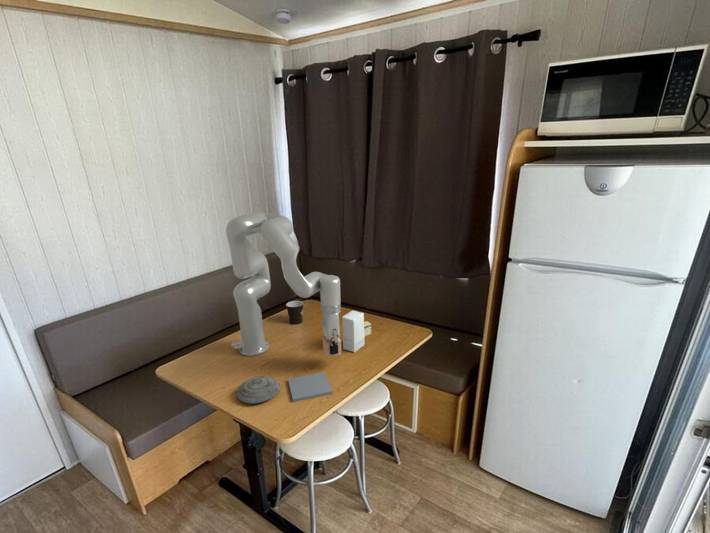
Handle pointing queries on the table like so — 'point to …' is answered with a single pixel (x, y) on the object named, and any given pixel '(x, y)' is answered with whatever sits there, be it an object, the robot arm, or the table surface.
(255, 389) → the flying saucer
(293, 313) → the coffee mug
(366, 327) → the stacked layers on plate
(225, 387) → the table surface
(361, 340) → the skincare box
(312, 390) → the slate mat
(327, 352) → the terracotta cube
